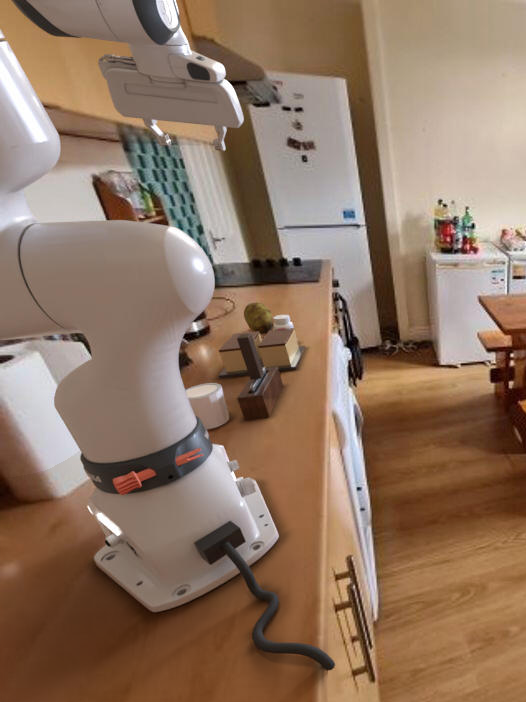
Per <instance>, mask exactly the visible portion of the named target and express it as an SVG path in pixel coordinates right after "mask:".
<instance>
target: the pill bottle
mask: <svg viewBox="0 0 526 702" xmlns="http://www.w3.org/2000/svg"><path fill="white" fill-rule="evenodd" d="M272 318H273V324H274V327H273V330H278V329H288V328H294V331H295V326H294V323H293V322H292V321H291V317H290V315H289V314H278V315H275V316H272ZM295 332H296V331H295ZM295 335H296V333H295ZM296 336H297V335H296ZM296 339H297V340H298V338H297V337H296Z"/></svg>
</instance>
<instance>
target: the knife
mask: <svg viewBox="0 0 526 702" xmlns="http://www.w3.org/2000/svg"><path fill="white" fill-rule="evenodd" d="M237 341H238V344H239V347H240V350H241V353H242V356H243V359H244V362H245V364H246V367H247V370H248V373H249V375H248V376H249V379H251V380H253V379H255V380H254V381H253V383H252V384H251V386H250V391H251V393H256V392H257V390H258V388H259V386H260V385H261V383H262V381H263V380H264V378H265V376H266V374H267V373H266V370H265V367H263V368H262V366H261V363H260V360H259V356H258V353H257V350H256V347H255V344H254V341H253V337H252V334H240V335H239V337H238V338H237Z"/></svg>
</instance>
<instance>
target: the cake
mask: <svg viewBox="0 0 526 702" xmlns="http://www.w3.org/2000/svg"><path fill="white" fill-rule="evenodd" d="M294 330H295V327H294V328H288V329H278V330H275V329H272V330H269V331H268V333H265V335H264V337H263V338H262V335H261V333H260V332H259V331H257V332H253V331H248V332H238V333H237V332H236V333H233V334H232V335H231V336H230V337H229V338H228V339H227V341H225V343H223V345H222V346H221V347H219V349H218V353H219V356H220V358H221V361H222V365H223V367H224V368H223V369H222V370H221V372H220V373H219V374H218V376H217V377H218V378H219V379H228V378H236V377H245V376H249V373H248V370H247V367H246V364H245V362H244V359H243V356H242V353H241V350H240V347H239V344H238V341H237V338H238V337H239V335H240V334H252V337H253V341H254V344H255V347H256V350H257V353H258V356H259V360H260V363H261V366H262V368H263V367H265V368H271V367H278V370H279V372H287V371H296V370H297V369H298V367H299V364H300V362H301V360H302V357H303V356H304V353H305V351H306V345H299V343H298V338H297V335H295V334H296V331H294ZM296 338H297V339H296Z"/></svg>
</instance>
